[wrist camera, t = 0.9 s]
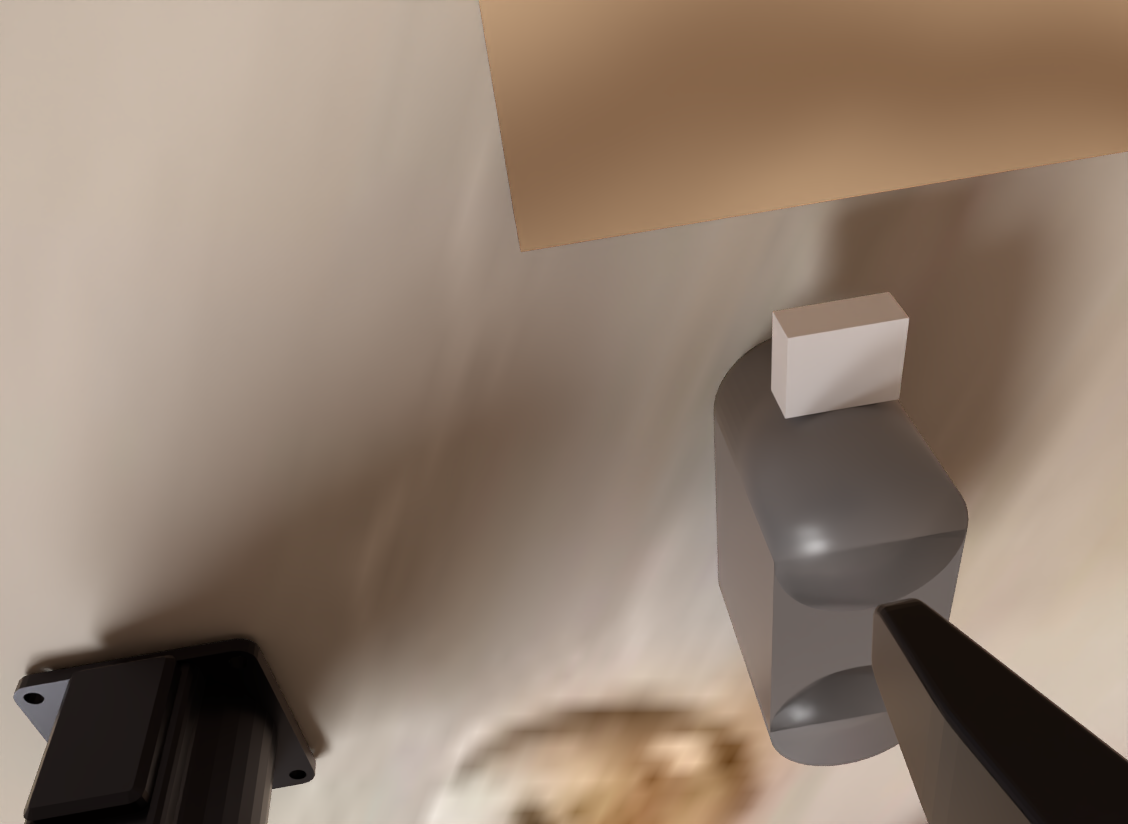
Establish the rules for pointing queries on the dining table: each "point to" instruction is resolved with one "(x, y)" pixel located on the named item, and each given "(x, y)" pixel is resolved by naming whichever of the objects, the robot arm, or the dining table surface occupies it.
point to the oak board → (786, 102)
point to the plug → (827, 520)
